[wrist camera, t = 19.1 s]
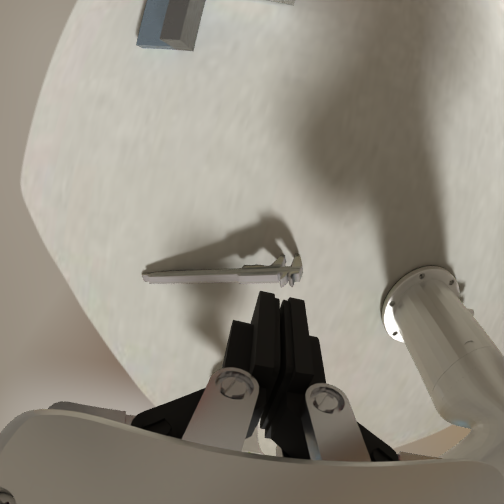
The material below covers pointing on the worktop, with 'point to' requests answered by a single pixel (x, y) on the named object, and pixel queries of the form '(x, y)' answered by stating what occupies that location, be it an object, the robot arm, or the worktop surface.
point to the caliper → (234, 274)
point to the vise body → (170, 24)
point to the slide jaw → (284, 1)
